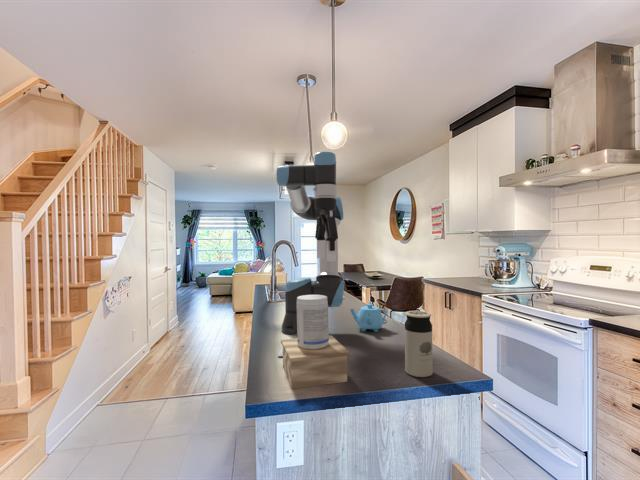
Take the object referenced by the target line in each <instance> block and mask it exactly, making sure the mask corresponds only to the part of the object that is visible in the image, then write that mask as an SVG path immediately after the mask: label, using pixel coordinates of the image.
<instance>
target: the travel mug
mask: <svg viewBox="0 0 640 480" xmlns="http://www.w3.org/2000/svg"><path fill="white" fill-rule="evenodd" d="M405 315H406V321H405V323H404V370H405V372H406V374H408V375H410V376H411V377H415V378H427V377H428V378H429V377H430V376H432V375H433V373H434V372H433V371H434V370H433V364H434V363H433V359H434V358H433V324H432V322H431V317H432V313H430V312H428V311H424V310H408V311H406V312H405Z"/></svg>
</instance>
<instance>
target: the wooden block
mask: <svg viewBox="0 0 640 480" xmlns="http://www.w3.org/2000/svg"><path fill="white" fill-rule="evenodd" d="M280 344H281V346H282V347H283V355H282V356H283V357H282V367H283V368H282V369H283V370H284V373H285V375H286V378H287V381H288V383H289V385H290V388H291V389H300V388H301V389H302V388H308V387H316V386H323V385H332V384H339V383H346V382H348V356H349V357H350V351H349V350H348V349H346V347H344V346H343V344H341V342H339V341H338V340H337V339H336V338H335V337H334V336H333V335H329V343H328V345H327V346H326V347H324V348H321V349H304V348H301V347H300V346H299V345H298V342H297V337H296V338H287V339H281V340H280Z"/></svg>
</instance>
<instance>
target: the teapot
mask: <svg viewBox="0 0 640 480" xmlns="http://www.w3.org/2000/svg"><path fill="white" fill-rule="evenodd" d="M349 310H350V312H351V315H352V317H353V319H354V321H355V322H356V324H357V326H358V327H359V328H360V329H361V330H360V331H361V332H367V330H372V331H373V333H374V332H375V333H378V332H379V331H380V330H379V329H381V328H382V326H383V325H386V324H387V323H388V320H387V319H385V318H386V316H387V311H386V310H385V309H384V308H380V307H378V306H374V305H373V304H372V303H371V301H370V300H369V301H368V302H367V304H366V305H364V306H361V307H360V308H359V311H358V312H356V311H355V310H354V308H350V309H349ZM382 311H383V315H382Z"/></svg>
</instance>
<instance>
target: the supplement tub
mask: <svg viewBox="0 0 640 480" xmlns="http://www.w3.org/2000/svg"><path fill="white" fill-rule="evenodd" d="M329 329H330V328H329V307H328V301H327V296H324V295H303V296H299V297H297V335H296V336H297V337H296V338H297V342H298V345H299V346H300V347H301V348H304V349H321V348H324V347H326V346H327V345H328V343H329V336H330V335H329V334H330V332H329Z"/></svg>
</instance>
